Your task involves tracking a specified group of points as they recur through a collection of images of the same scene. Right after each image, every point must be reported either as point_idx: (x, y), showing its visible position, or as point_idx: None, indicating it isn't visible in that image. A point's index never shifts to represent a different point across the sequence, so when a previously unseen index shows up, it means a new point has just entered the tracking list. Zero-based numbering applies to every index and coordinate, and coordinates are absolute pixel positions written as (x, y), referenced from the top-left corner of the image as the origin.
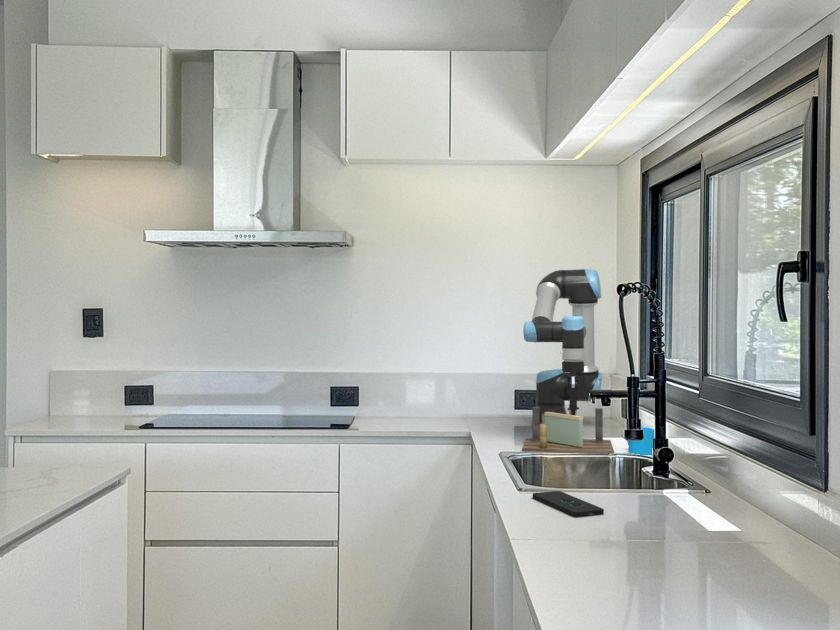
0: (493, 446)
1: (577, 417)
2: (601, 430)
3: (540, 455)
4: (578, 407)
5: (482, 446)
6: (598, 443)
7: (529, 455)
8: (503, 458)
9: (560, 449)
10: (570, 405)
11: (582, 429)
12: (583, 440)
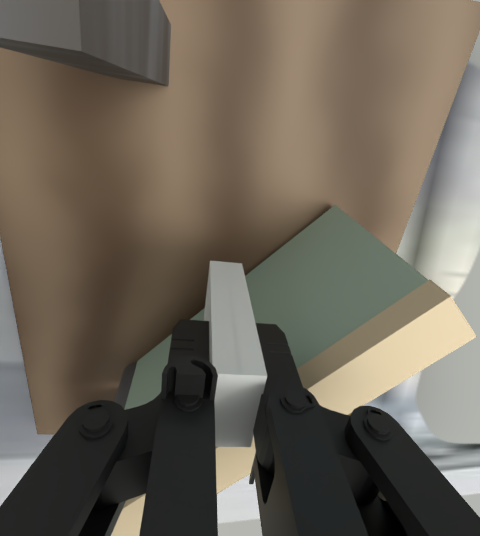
0: (217, 499)
1: (449, 345)
2: (156, 10)
3: (414, 377)
4: (162, 377)
5: (219, 520)
6: (169, 62)
7: (405, 408)
8: (439, 465)
9: None
10: (392, 513)
11: (384, 246)
12: (48, 158)
